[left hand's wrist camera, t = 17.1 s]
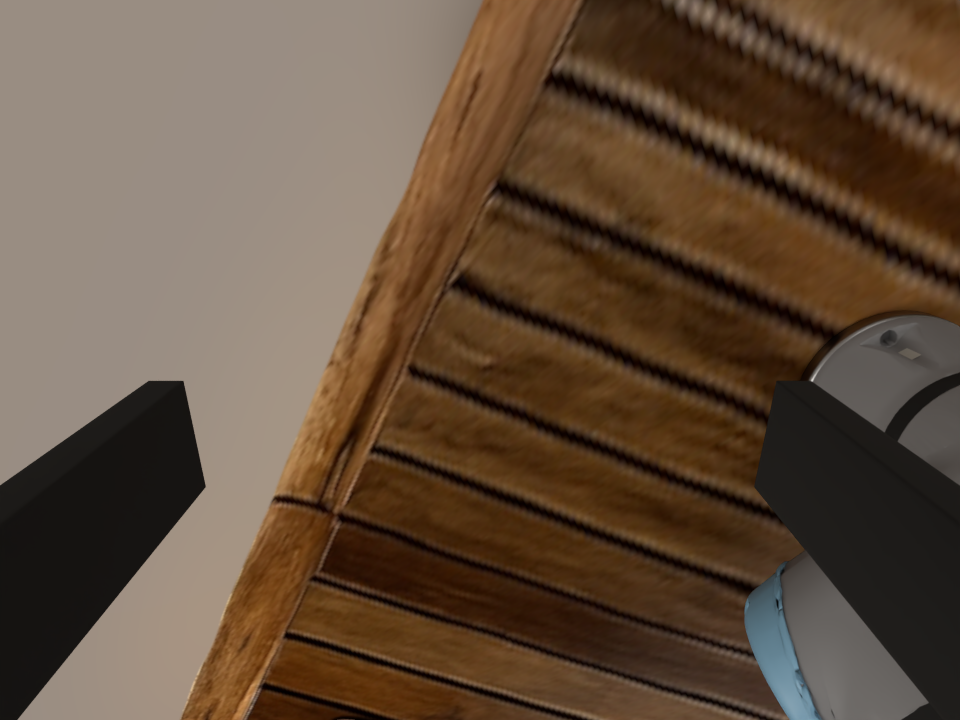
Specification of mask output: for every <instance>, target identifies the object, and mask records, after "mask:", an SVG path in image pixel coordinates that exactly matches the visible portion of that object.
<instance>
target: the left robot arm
mask: <svg viewBox="0 0 960 720" xmlns="http://www.w3.org/2000/svg"><path fill="white" fill-rule="evenodd" d="M205 487H206V486H205V481H204V476H203V472H202V467H201V462H200V457H199V453H198V448H197V443H196V439H195V434H194V429H193V424H192V419H191V415H190V410H189V405H188V401H187V396H186V391H185V386H184V382H183V381H148V382H147V383H145V384H144V385H142V386H141V387H139V388H138V389H137V390H135V391H134V392H132V393H131V394H130V395H128V396H127V397H125V398H124V399H122V400H121V401H120V402H118V403H117V404H115V405H114V406H112V407H111V408H110V409H108V410H107V411H105V412H104V413H103V414H101V415H100V416H98V417H97V418H95V419H94V420H93V421H91V422H90V423H88V424H87V425H85V426H84V427H83V428H81V429H80V430H78V431H77V432H75V433H74V434H73V435H71V436H70V437H68V438H67V439H66V440H64V441H63V442H61V443H60V444H58V445H57V446H56V447H54V448H53V449H51V450H50V451H48V452H47V453H46V454H44V455H43V456H41V457H40V458H39V459H37V460H36V461H34V462H33V463H31V464H30V465H29V466H27V467H26V468H24V469H23V470H22V471H20V472H19V473H17V474H16V475H14V476H13V477H11V478H10V479H9V480H7V481H6V482H4V483H3V484H2V485H0V720H17V719H18V718H19V717H20V716H21V714H22V713H23V712H24V711H25V710H26V708H27V707H28V706H29V705H30V703H31V702H32V701H33V700H34V698H35V697H36V696H37V695H38V694H39V692H40V691H41V690H42V689H43V687H44V686H45V685H46V684H47V682H48V681H49V680H50V679H51V677H52V676H53V675H54V674H55V673H56V671H57V670H58V669H59V668H60V666H61V665H62V664H63V663H64V661H65V660H66V659H67V658H68V656H69V655H70V654H71V653H72V652H73V650H74V649H75V648H76V647H77V645H78V644H79V643H80V642H81V640H82V639H83V638H84V637H85V635H86V634H87V633H88V632H89V631H90V629H91V628H92V627H93V626H94V624H95V623H96V622H97V621H98V619H99V618H100V617H101V616H102V614H103V613H104V612H105V611H106V609H107V608H108V607H109V606H110V605H111V603H112V602H113V601H114V600H115V598H116V597H117V596H118V595H119V593H120V592H121V591H122V590H123V588H124V587H125V586H126V585H127V584H128V582H129V581H130V580H131V579H132V577H133V576H134V575H135V574H136V572H137V571H138V570H139V569H140V567H141V566H142V565H143V564H144V563H145V561H146V560H147V559H148V558H149V556H150V555H151V554H152V553H153V551H154V550H155V549H156V548H157V546H158V545H159V544H160V543H161V542H162V540H163V539H164V538H165V537H166V535H167V534H168V533H169V532H170V530H171V529H172V528H173V527H174V525H175V524H176V523H177V522H178V520H179V519H180V518H181V517H182V516H183V514H184V513H185V512H186V511H187V509H188V508H189V507H190V506H191V504H192V503H193V502H194V501H195V500H196V498H197V497H198V496H199V495H200V493H201V492H202V491H203V490H204V488H205ZM754 487H755V488H756V490H757V491H758V492H759V493H760V495H761V496H762V497H763V498H764V500H765V501H766V502H767V503H768V504H769V506H770V507H771V508H772V509H773V511H774V512H775V513H776V514H777V516H778V517H779V518H780V519H781V521H782V522H783V523H784V524H785V525H786V527H787V528H788V529H789V530H790V532H791V533H792V534H793V535H794V537H795V538H796V539H797V540H798V542H799V543H800V544H801V545H802V546H803V548H804V549H805V551H803V552H802V553H800V554H799V555H798V556H796V557H795V558H793V559H792V560H791V561H788V562H783V563H782V564H781V565H780V566H779V567H778V568H777V570H776V573H775V574H773V575H772V576H771V577H770V578H768V579H767V580H766V581H765V582H764V583H762V584H761V585H760V586H759V587H757V588H756V589H755V590H754V591H753V592H752V593H751V594H750V595H749V597H748V599H747V601H746V605H745V611H744V612H745V627H746V631H747V635H748V639H749V642H750V645H751V648H752V650H753V653H754V655H755V658H756V660H757V662H758V664H759V666H760V668H761V670H762V673H763V675H764V677H765V678H766V680H767V682H768V684H769V686H770V688H771V690H772V691H773V693H774V695H775V697H776V698H777V700H778V702H779V703H780V705H781V707H782V708H783V710H784V712H785V713H786V715H787V716H788V718H789V719H790V720H960V327H959V326H958V325H956V324H954V323H952V322H950V321H947V320H944V319H942V318H939V317H936V316H933V315H930V314H927V313H923V312H916V311H894V312H888V313H883V314H879V315H875V316H872V317H869V318H866V319H864V320H862V321H859V322H857V323H855V324H853V325H852V326H850V327H848V328H846V329H845V330H843V331H842V332H840V333H839V334H837V335H836V336H835V337H833V338H832V339H831V340H830V341H829V342H828V343H826V344H825V345H824V346H823V347H822V348H821V350H820V351H819V352H818V353H817V354H816V355H815V356H814V358H813V359H812V360H811V362H810V363H809V365H808V366H807V368H806V370H805V371H804V373H803V375H802V378H801V380H800V381H777V382H776V386H775V391H774V396H773V401H772V405H771V410H770V415H769V419H768V424H767V429H766V434H765V438H764V443H763V448H762V453H761V457H760V462H759V467H758V472H757V476H756V481H755V486H754Z"/></svg>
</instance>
